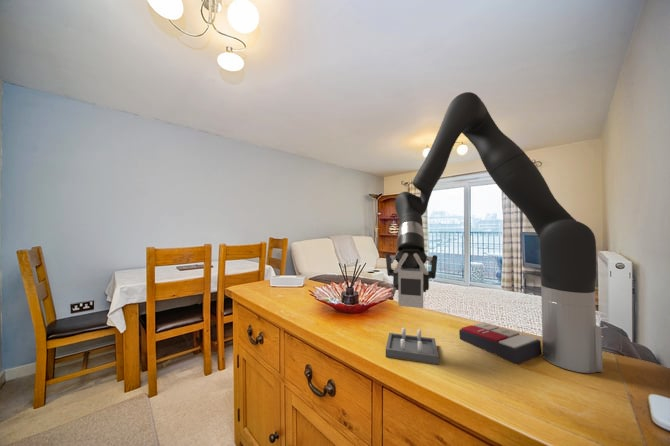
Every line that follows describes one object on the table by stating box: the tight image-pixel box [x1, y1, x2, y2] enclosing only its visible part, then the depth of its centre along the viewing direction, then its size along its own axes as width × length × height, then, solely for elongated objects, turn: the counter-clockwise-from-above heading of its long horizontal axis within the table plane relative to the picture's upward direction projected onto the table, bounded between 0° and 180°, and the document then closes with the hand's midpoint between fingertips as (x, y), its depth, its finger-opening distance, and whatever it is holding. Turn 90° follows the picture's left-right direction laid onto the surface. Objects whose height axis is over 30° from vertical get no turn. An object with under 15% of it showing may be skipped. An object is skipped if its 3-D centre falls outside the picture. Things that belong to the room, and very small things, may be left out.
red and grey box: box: [458, 321, 543, 365], centre depth 66 cm, size 11×4×15 cm
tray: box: [385, 327, 440, 365], centre depth 63 cm, size 12×10×4 cm
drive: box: [397, 268, 424, 309], centre depth 64 cm, size 6×4×9 cm
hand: (410, 289), depth 62 cm, fingers closed on drive, 6 cm apart
